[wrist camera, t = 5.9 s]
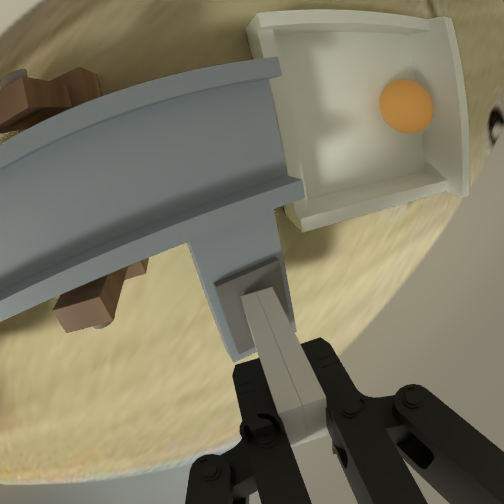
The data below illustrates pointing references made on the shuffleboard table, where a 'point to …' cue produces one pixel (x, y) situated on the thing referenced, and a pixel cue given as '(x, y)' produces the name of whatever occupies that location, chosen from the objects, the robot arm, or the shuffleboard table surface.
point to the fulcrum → (29, 114)
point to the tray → (362, 109)
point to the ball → (406, 106)
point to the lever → (152, 192)
